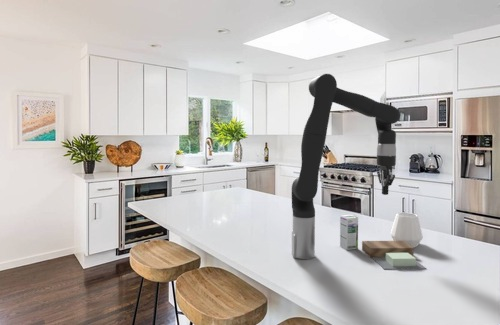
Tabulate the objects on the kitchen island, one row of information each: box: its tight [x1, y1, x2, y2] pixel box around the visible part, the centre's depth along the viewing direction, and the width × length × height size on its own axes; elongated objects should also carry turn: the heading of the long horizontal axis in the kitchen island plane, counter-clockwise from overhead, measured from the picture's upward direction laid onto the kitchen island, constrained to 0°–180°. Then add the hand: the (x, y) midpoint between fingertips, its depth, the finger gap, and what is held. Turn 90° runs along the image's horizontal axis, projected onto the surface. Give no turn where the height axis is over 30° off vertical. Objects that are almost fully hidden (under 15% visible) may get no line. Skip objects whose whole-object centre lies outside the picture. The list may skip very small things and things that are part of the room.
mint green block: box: [386, 253, 417, 266], centre depth 124 cm, size 9×6×3 cm, turn 91°
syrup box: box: [339, 214, 359, 251], centre depth 142 cm, size 6×6×14 cm
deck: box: [361, 240, 415, 259], centre depth 135 cm, size 18×9×4 cm, turn 90°
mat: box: [372, 257, 427, 270], centre depth 125 cm, size 16×11×1 cm
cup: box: [390, 211, 423, 248], centre depth 146 cm, size 13×13×14 cm
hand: (385, 194), depth 136 cm, fingers closed
